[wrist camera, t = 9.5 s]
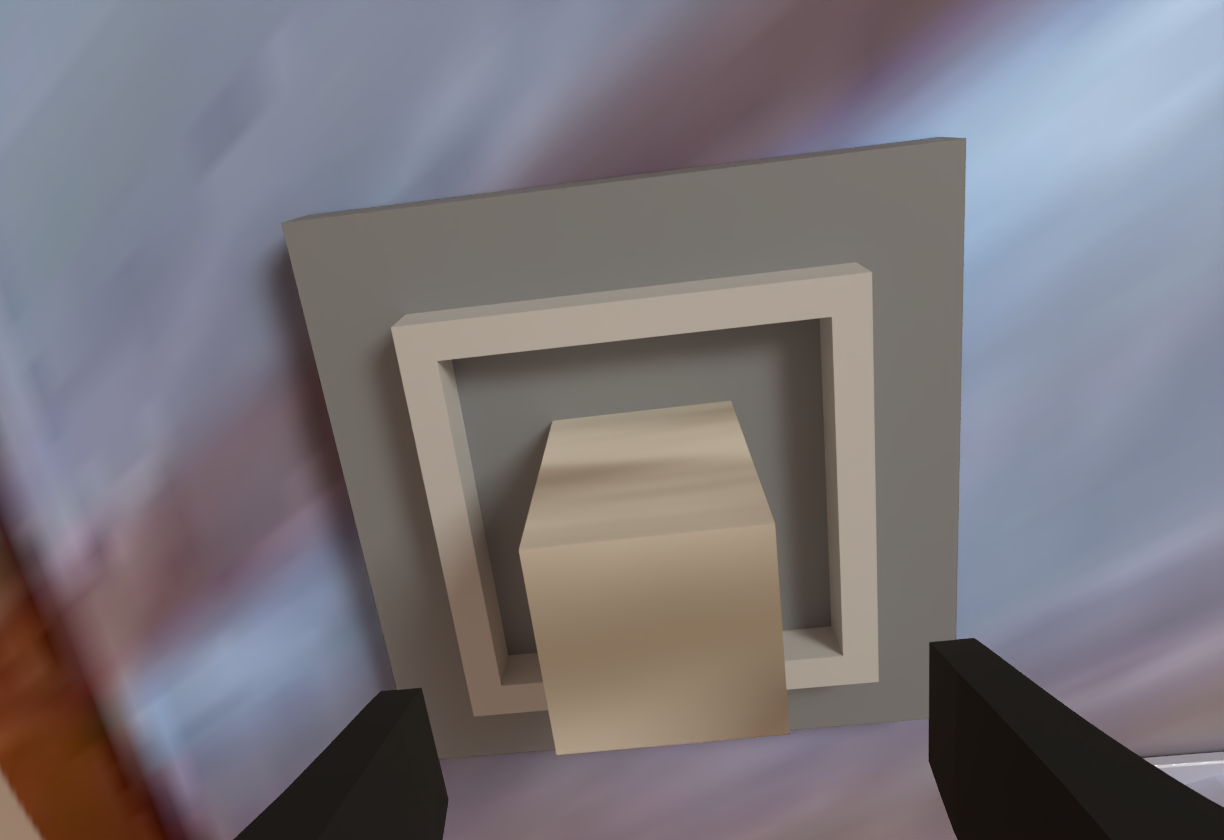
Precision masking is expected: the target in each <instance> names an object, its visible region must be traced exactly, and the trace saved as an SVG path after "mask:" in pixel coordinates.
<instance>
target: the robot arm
mask: <svg viewBox="0 0 1224 840" xmlns="http://www.w3.org/2000/svg"><path fill="white" fill-rule="evenodd" d="M929 763H930V766H931V769H932V772H933V775H934V778H935V780H936V783H937V786H938V789H939V792H940V795H941V798H942V801H943V803H944V806H945V809H946V811H947V814H948V817H949V820H950V822H951V825H952V828H953V830H954V833H955V835H956V837H957V839H958V840H1224V752H1214V753H1201V754H1188V755H1176V756H1163V757H1150V758H1142V757H1140V756H1138V755H1137V754H1135V753H1134V752H1132V751H1131V750H1129V749H1128V748H1126V747H1125V746H1123V745H1122V744H1120V743H1119V742H1117V741H1116V740H1114V739H1113V738H1111V737H1110V736H1108V735H1107V734H1105V733H1104V732H1102V731H1101V730H1099V729H1098V728H1097V727H1095V726H1094V725H1092V724H1091V723H1089V722H1088V721H1086V720H1085V719H1084V718H1082V717H1081V716H1079V715H1078V714H1077V713H1075V712H1074V711H1072V710H1071V709H1070V708H1068V707H1067V706H1065V705H1064V704H1063V703H1061V702H1060V701H1059V700H1057V699H1056V698H1054V697H1053V696H1052V695H1050V694H1049V693H1048V692H1046V691H1045V690H1044V689H1042V688H1041V687H1039V686H1038V685H1037V684H1035V683H1034V682H1033V681H1031V680H1030V679H1029V678H1027V677H1026V676H1025V675H1023V674H1022V673H1021V672H1019V671H1018V670H1017V669H1015V668H1014V667H1013V666H1011V665H1010V664H1009V663H1007V662H1006V661H1005V660H1003V659H1002V658H1001V657H999V656H998V655H997V654H995V653H994V652H993V651H991V650H990V649H989V648H987V647H986V646H985V645H983V644H982V643H980V642H979V641H978V640H976V639H975V638H969V639H958V640H947V641H936V642H929ZM447 806H448V796H447V792H446V787H445V783H444V779H443V775H442V771H441V766H440V762H439V758H438V754H437V750H436V745H435V741H434V737H433V733H432V729H431V724H430V720H429V716H428V712H427V708H426V703H425V699H424V695H423V691H422V688H412V689H401V690H390V691H381V692H380V693H379V694H378V695H377V696H375V697H374V698H373V699H372V700H371V701H370V702H369V703H368V704H367V705H366V707H365V708H364V709H363V710H362V711H361V712H360V713H359V714H358V715H357V716H356V717H355V718H354V719H353V720H352V721H351V722H350V723H349V724H348V725H347V727H346V728H345V729H344V730H343V731H342V732H341V733H340V734H339V735H338V736H337V737H336V738H335V739H334V740H333V741H332V742H331V744H330V745H329V746H328V747H327V748H326V749H325V750H324V751H323V752H322V753H321V754H320V755H319V756H318V757H317V758H316V759H315V760H314V761H313V762H312V763H311V764H310V765H309V766H308V767H307V768H306V769H305V770H304V772H303V773H302V774H301V775H300V776H299V777H298V778H297V779H296V780H295V781H294V782H293V783H292V784H291V785H290V786H289V787H288V788H287V789H286V790H285V791H284V792H283V793H282V794H281V795H280V796H279V797H278V798H277V799H276V800H275V801H274V802H273V803H272V804H270V805H269V806H268V807H267V808H266V809H265V810H264V811H263V812H262V813H261V814H260V815H259V816H258V817H257V818H256V819H255V820H254V821H253V822H251V823H250V824H249V825H248V826H247V827H246V828H245V829H244V830H243V831H242V832H241V833H240V834H239V835H238V836H237V837H236V838H235V839H234V840H442V839H443V833H444V826H445V819H446V813H447Z"/></svg>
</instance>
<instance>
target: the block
mask: <svg viewBox="0 0 1224 840" xmlns="http://www.w3.org/2000/svg"><path fill="white" fill-rule="evenodd" d="M519 555H520V560H521V566H522V571H523V576H524V582H525V587H526V593H527V598H528V603H529V609H530V614H531V619H532V625H533V630H534V636H535V641H536V646H537V652H538V657H539V663H540V668H541V673H542V679H543V684H544V690H545V695H546V700H547V706H548V711H549V717H550V722H551V727H552V733H553V738H554V743H555V749H556V754H557V755H562V754H573V753H585V752H596V751H607V750H619V749H630V748H641V747H653V746H664V745H676V744H687V743H698V742H710V741H721V740H732V739H744V738H755V737H766V736H778V735H789V734H790V732H789V718H788V703H787V689H786V674H785V660H784V646H783V631H782V617H781V602H780V588H779V574H778V559H777V545H776V530H775V522H774V519H773V516H772V514H771V511H770V508H769V505H768V503H767V500H766V497H765V494H764V491H763V489H762V486H761V483H760V480H759V477H758V475H757V472H756V469H755V466H754V463H753V461H752V458H751V455H750V452H749V449H748V447H747V444H746V441H745V438H744V435H743V433H742V430H741V427H740V424H739V422H738V419H737V416H736V413H735V410H734V408H733V405H732V402H731V401H723V402H714V403H705V404H697V405H688V406H679V407H670V408H661V409H653V410H644V411H635V412H626V413H617V414H609V415H600V416H591V417H582V418H573V419H565V420H556V421H552V425H551V429H550V432H549V436H548V440H547V444H546V448H545V451H544V455H543V459H542V463H541V467H540V471H539V474H538V478H537V482H536V486H535V490H534V493H533V497H532V501H531V505H530V509H529V513H528V516H527V520H526V524H525V528H524V532H523V535H522V539H521V543H520V547H519Z"/></svg>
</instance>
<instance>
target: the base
mask: <svg viewBox="0 0 1224 840" xmlns="http://www.w3.org/2000/svg"><path fill="white" fill-rule="evenodd" d="M965 168H966V138H950V137H936V138H928V139H920V140H912V141H903V142H895V143H887V144H879V145H871V146H863V147H855V148H847V149H839V150H831V151H823V152H815V153H807V154H799V155H791V156H782V157H774V158H766V159H758V160H750V161H742V162H734V163H726V164H718V165H710V166H702V167H694V168H686V169H678V170H670V171H661V172H653V173H645V174H637V175H629V176H621V177H613V178H605V179H597V180H589V181H581V182H573V183H565V184H557V185H549V186H541V187H532V188H524V189H516V190H508V191H500V192H492V193H484V194H476V195H468V196H460V197H452V198H444V199H436V200H428V201H420V202H411V203H403V204H395V205H387V206H379V207H371V208H363V209H355V210H347V211H339V212H331V213H323V214H315V215H307V216H304V217H300V218H297V219H293V220H290V221H287V222H283V223H281V224H282V228H283V232H284V236H285V240H286V244H287V248H288V252H289V256H290V260H291V264H292V269H293V273H294V277H295V281H296V285H297V289H298V293H299V297H300V301H301V305H302V309H303V313H304V317H305V321H306V325H307V329H308V333H309V337H310V341H311V345H312V349H313V353H314V357H315V361H316V365H317V369H318V374H319V378H320V382H321V386H322V390H323V394H324V398H325V402H326V406H327V410H328V414H329V418H330V422H331V426H332V430H333V434H334V438H335V442H336V446H337V450H338V454H339V458H340V462H341V466H342V470H343V474H344V479H345V483H346V487H347V491H348V495H349V499H350V503H351V507H352V511H353V515H354V519H355V523H356V527H357V531H358V535H359V539H360V543H361V547H362V551H363V555H364V559H365V563H366V567H367V571H368V575H369V579H370V584H371V588H372V592H373V596H374V600H375V604H376V608H377V612H378V616H379V620H380V624H381V628H382V632H383V636H384V640H385V644H386V648H387V652H388V656H389V660H390V664H391V668H392V672H393V676H394V680H395V684H396V689H397V690H401V689H412V688H422V691H423V695H424V699H425V703H426V708H427V712H428V716H429V720H430V724H431V729H432V733H433V737H434V741H435V745H436V750H437V754H438V758H439V759H448V758H460V757H472V756H484V755H496V754H508V753H520V752H532V751H545V750H556V749H555V743H554V738H553V733H552V727H551V722H550V717H549V711H548V706H547V700H546V695H545V690H544V684H543V679H542V673H541V668H540V663H539V657H538V652H537V646H536V641H535V636H534V630H533V625H532V619H531V614H530V609H529V603H528V598H527V593H526V587H525V582H524V576H523V571H522V566H521V560H520V555H519V547H520V543H521V539H522V535H523V532H524V528H525V524H526V520H527V516H528V513H529V509H530V505H531V501H532V497H533V493H534V490H535V486H536V482H537V478H538V474H539V471H540V467H541V463H542V459H543V455H544V451H545V448H546V444H547V440H548V436H549V432H550V429H551V425H552V421H556V420H565V419H573V418H582V417H591V416H600V415H609V414H617V413H626V412H635V411H644V410H653V409H661V408H670V407H679V406H688V405H697V404H705V403H714V402H723V401H731V402H732V405H733V408H734V410H735V413H736V416H737V419H738V422H739V424H740V427H741V430H742V433H743V435H744V438H745V441H746V444H747V447H748V449H749V452H750V455H751V458H752V461H753V463H754V466H755V469H756V472H757V475H758V477H759V480H760V483H761V486H762V489H763V491H764V494H765V497H766V500H767V503H768V505H769V508H770V511H771V514H772V516H773V519H774V522H775V530H776V545H777V559H778V574H779V588H780V602H781V617H782V631H783V646H784V660H785V674H786V689H787V703H788V718H789V730H798V729H810V728H823V727H835V726H847V725H859V724H871V723H883V722H895V721H907V720H919V719H929V642H936V641H947V640H956V618H957V568H958V518H959V468H960V418H961V368H962V318H963V268H964V218H965Z"/></svg>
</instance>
